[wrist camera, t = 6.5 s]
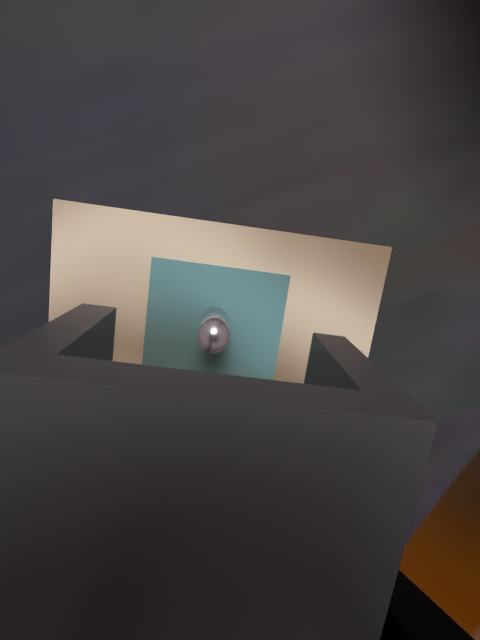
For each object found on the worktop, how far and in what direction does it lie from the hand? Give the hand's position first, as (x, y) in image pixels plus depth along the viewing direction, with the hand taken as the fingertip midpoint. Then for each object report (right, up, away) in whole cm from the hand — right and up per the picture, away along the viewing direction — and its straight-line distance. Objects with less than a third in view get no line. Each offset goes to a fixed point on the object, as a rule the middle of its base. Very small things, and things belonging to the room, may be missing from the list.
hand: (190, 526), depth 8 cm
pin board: (0, +2, +9) cm, 9 cm away
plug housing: (0, 0, +1) cm, 1 cm away
